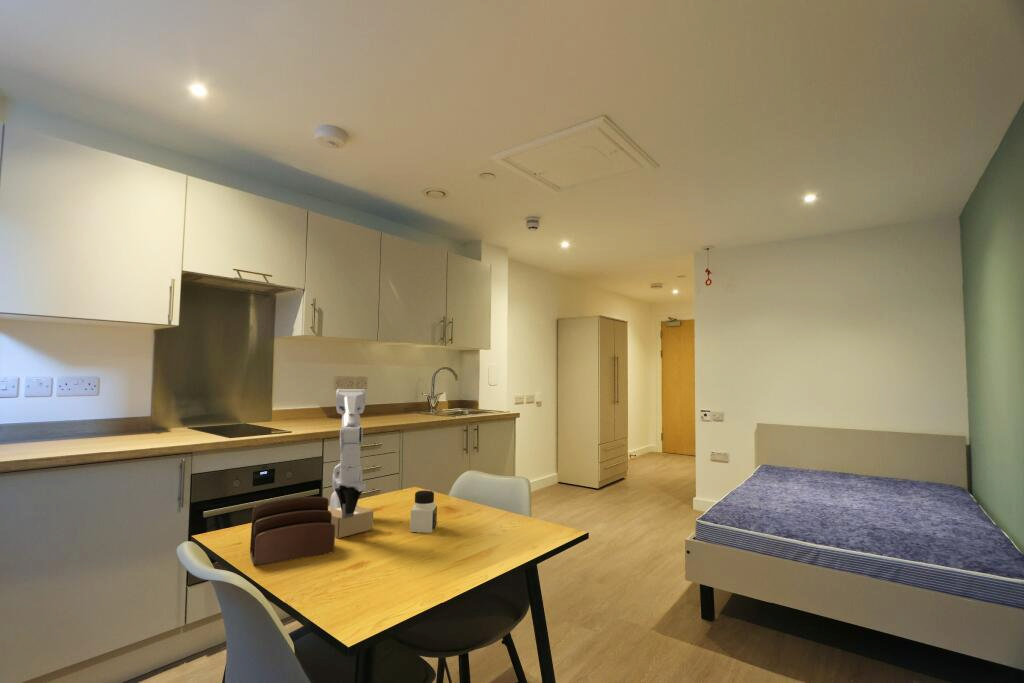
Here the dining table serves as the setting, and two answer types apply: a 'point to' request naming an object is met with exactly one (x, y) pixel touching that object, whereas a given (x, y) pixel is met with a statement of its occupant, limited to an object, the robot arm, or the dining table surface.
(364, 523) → the side flap
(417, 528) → the medicine bottle
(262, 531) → the letter holder
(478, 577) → the dining table surface
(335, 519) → the carton
